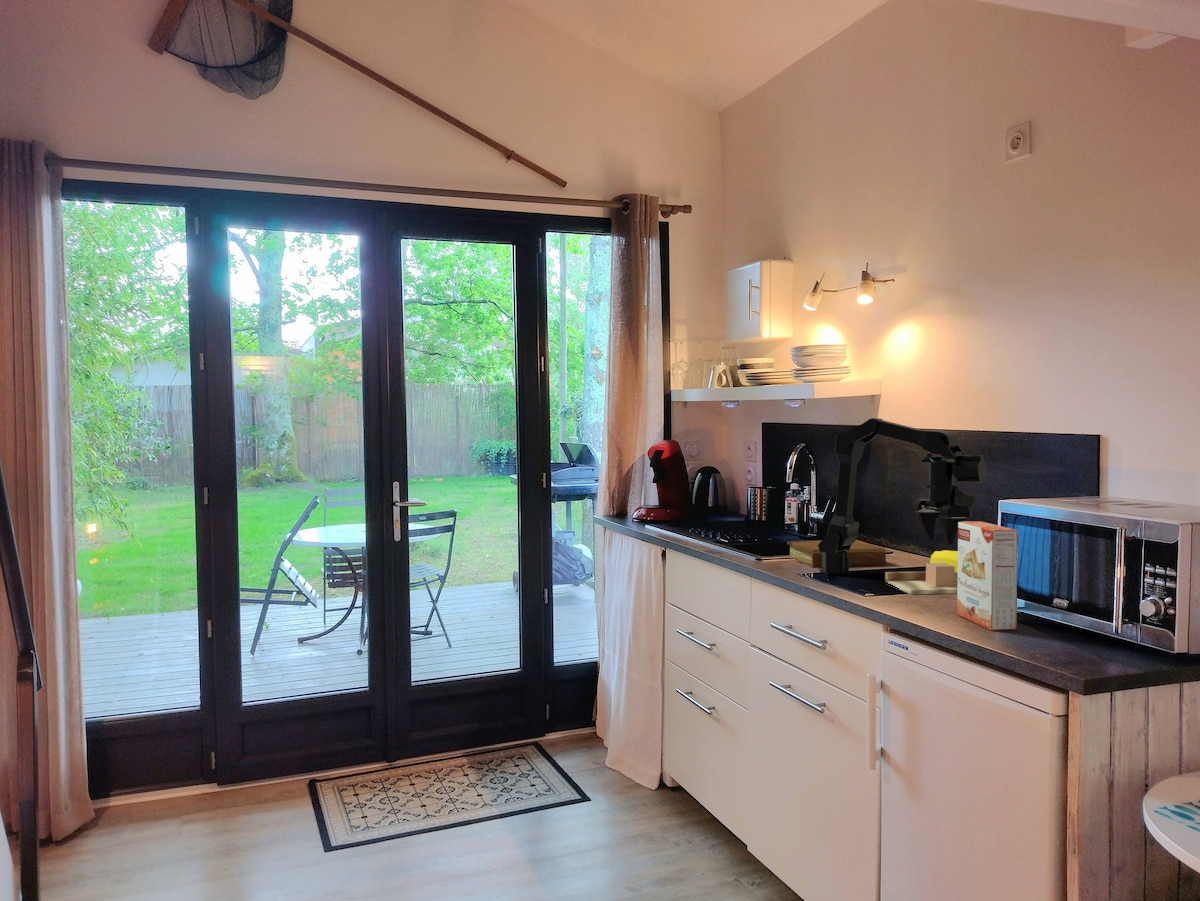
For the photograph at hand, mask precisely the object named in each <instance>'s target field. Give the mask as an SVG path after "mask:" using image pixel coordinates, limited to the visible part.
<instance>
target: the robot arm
mask: <svg viewBox="0 0 1200 901" xmlns="http://www.w3.org/2000/svg"><path fill="white" fill-rule="evenodd" d="M878 435H881V436H883V437H888V438H892V439H894V440H895V439H896V440H899V441H904V442H907V443H909V444H910V443H911V444H914V445H915V446H917V447H919V448H921V449H923V450H924V451H927V452H929V453H927V454H926V455H925V456H924V457H923V458H922V459H921V460H920V462H921V463H929V476H928V477H929V478H928V480H929V481H928V482H929V483H925V488H926V489H928V499H926V498H919V499H918V498H917V499H915V500H914V501H913V502H912V510H913V511H914V513H915V514H916V516H917V517H918V519H919V521H920V523H921V524H922V525H921V526H922V527H923V529H924V531H925V534H926V536H927V538H928V540H934V539H935V538H934V537H935V531H936V524H937V519H938V518H940V522H941V523H940V524H941V525H942V530H943V534H944V537H945V541H946V544H947V545H953V543H954V541H955V537H956V535H957V534H958V522H962V521H968V520H969V518H971V517H972V510H973V508H974V506H975V503H976V500H977V497H975V496H971V495H969V494H966V493H964V492H963V490H959V487H958V485H957V484H954V482H955V481H954V479H956V480H957V481H958V482H959V483H960V482H961V483H979V484H983V483H985V481H986V479H987V476H988V468H987V464H986V461H985V460H984V459H985V458H984V455H983V454H982V455H981V454H978V455H976V454H975V455H966V453H965V452H964V451H963V449H962V448H961V447H960V445H959V444H958V439H957V437H956V435H955V434H954V433H953V432H951V431H946V430H931V429H930V430H927V429H919V428H916V427H913V426H908V425H902V424H899V423H895V422H892V421H887V420H884V419H882V418H877V417H874V418H872V417H871V418H869V419H868V420H866V421H865V422H863V423H862V424H859V425H857V426H855V427H853V428H851V429H849V430H848V431H842V432H840V433H839V434H837V435H836V437H835V440H834V446H835V454H836V458H837V461H838V463H839V465H838V475H837V476H838V477H837V486H836V487H837V488H836V496H835V497H836V498H835V506H834V509H835V510H834V514H833V517H832V519H831V521H830V522H829V524H828V527H827V531H826V536H825V537H824V538H823V539H822V541H821V542H820V543H819V544H818V547H819V550H820V552H822V567H821V568H818V569H819V572H821V573H823V574H825V573H826V574H825V575H827V574H833V575H834V576H837V575H838V576H841V575H850V574H851V573H850V572H849V571H850V567H849V557H848V552H847V550H850V548H851V545H852V544H853V543H854V542H855V541H856V540H857V538H859V537H860V534H859V528H860V522H858V521H857V522H856V521H855V518H854V516H853V512H854V503H855V502H854V501H855V493H856V492H855V491H856V481H857V470H858V463H859V462H860V460H861V459H862V458H863V457H862V456H863V454H864V451H865V447H866V445H867V444H868V443H869V442H871V441H872V440H873V439H874V438H876V436H878ZM937 455H938V456H937ZM939 455H940V456H939ZM948 459H949V460H948ZM951 459H953V460H951ZM940 515H941V516H940ZM833 575H832V576H833Z"/></svg>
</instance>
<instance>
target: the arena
mask: <svg viewBox="0 0 1200 901" xmlns="http://www.w3.org/2000/svg"><path fill="white" fill-rule="evenodd" d="M884 574H885V575H884V583H885V582H886V583H888V584H891V585H893V586H895V587H897V588H899V589H898V590H900V591H902V592H904V593H907V594H909V595H935V594H936V595H937V594H940V595H942V594H947V595H949V594H950V595H951V594H957V583H958V573H955V580H954V586H934V585H931V584H928V583H926V570H924V571H923V570H922V571H919V570H918V571H885V572H884ZM888 584H887V585H888ZM895 587H894V588H895ZM897 588H896V589H897Z"/></svg>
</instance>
